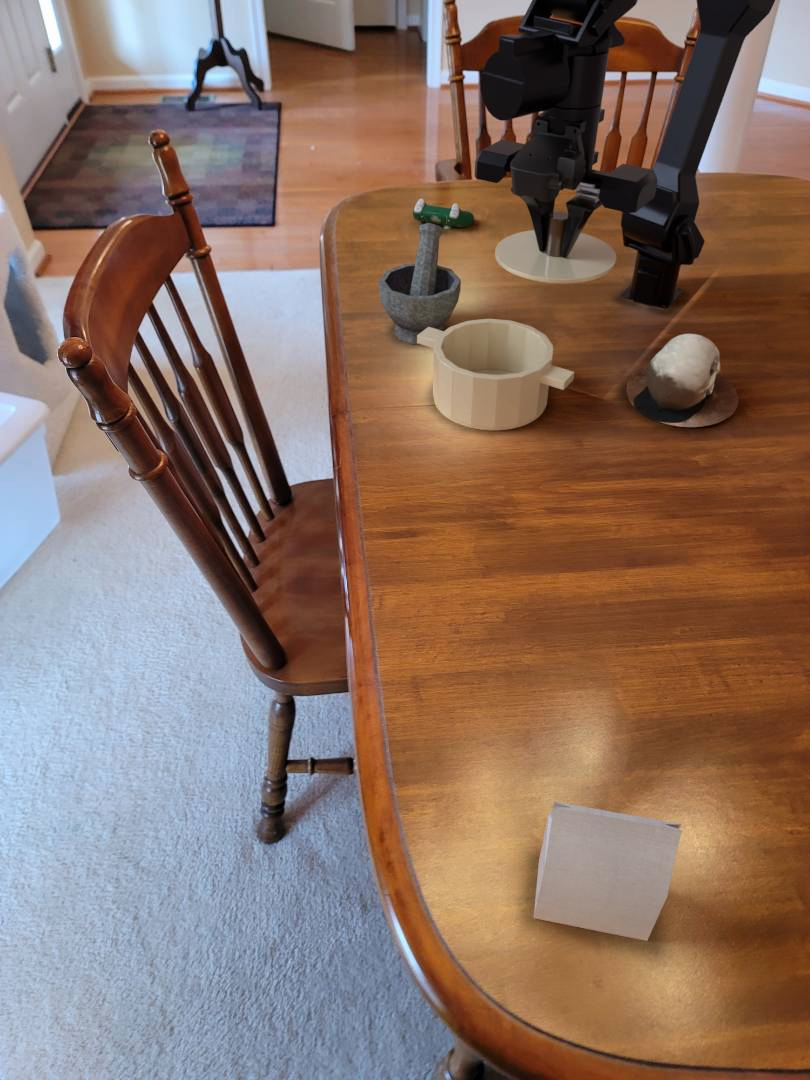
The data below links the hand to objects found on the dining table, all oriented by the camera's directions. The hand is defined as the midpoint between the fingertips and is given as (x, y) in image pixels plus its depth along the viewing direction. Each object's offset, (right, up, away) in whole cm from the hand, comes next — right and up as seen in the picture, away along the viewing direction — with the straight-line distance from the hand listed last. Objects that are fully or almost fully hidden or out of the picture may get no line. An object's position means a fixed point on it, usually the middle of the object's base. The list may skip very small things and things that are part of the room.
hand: (553, 253), depth 94 cm
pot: (-7, -16, 0) cm, 18 cm away
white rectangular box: (-5, -55, -42) cm, 69 cm away
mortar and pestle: (-15, -6, +12) cm, 20 cm away
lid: (0, 0, +1) cm, 1 cm away
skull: (+14, -16, 0) cm, 22 cm away
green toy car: (-11, +16, +35) cm, 41 cm away
